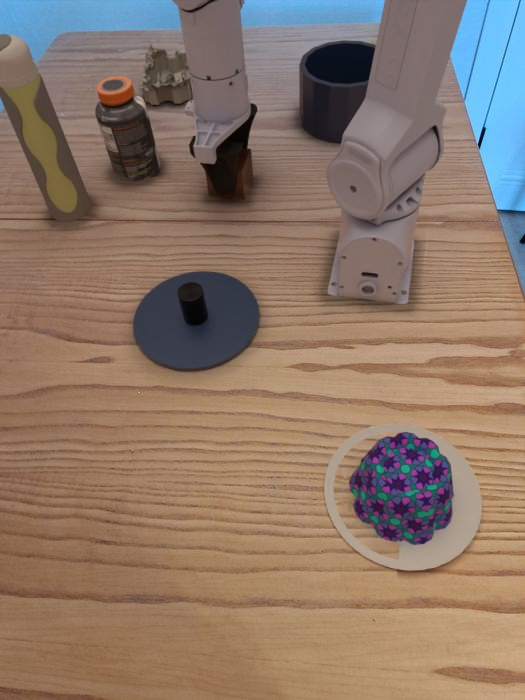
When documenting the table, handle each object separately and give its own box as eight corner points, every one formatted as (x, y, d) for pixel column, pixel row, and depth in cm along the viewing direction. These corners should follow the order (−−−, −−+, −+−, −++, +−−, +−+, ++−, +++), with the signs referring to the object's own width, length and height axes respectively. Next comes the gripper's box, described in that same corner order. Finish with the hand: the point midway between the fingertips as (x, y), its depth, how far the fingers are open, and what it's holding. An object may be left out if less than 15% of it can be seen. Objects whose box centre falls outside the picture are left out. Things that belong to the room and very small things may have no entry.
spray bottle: (95, 219, 68) (29, 45, 52) (54, 229, 67) (-26, 57, 51) (90, 195, 70) (26, 23, 54) (50, 204, 70) (-26, 33, 54)
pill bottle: (165, 156, 74) (145, 69, 65) (155, 184, 71) (133, 97, 62) (120, 156, 75) (95, 70, 66) (109, 184, 71) (80, 98, 62)
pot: (381, 145, 73) (387, 89, 67) (293, 139, 75) (291, 83, 69) (389, 98, 79) (396, 42, 73) (308, 93, 81) (308, 38, 76)
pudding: (355, 594, 41) (361, 573, 37) (304, 449, 48) (303, 417, 44) (509, 546, 42) (532, 520, 38) (437, 412, 49) (449, 377, 45)
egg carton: (154, 69, 88) (148, 42, 85) (202, 68, 88) (198, 41, 84) (138, 106, 82) (131, 78, 79) (190, 106, 81) (185, 77, 78)
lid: (242, 384, 52) (237, 353, 49) (116, 364, 55) (102, 333, 51) (271, 286, 59) (269, 252, 56) (159, 271, 62) (150, 238, 58)
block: (245, 203, 68) (241, 171, 64) (209, 199, 69) (204, 168, 65) (253, 180, 70) (251, 148, 67) (219, 176, 71) (214, 145, 68)
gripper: (199, 30, 62) (215, 141, 73) (155, 102, 54) (180, 215, 65) (262, 33, 61) (269, 146, 72) (227, 107, 53) (240, 222, 64)
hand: (230, 179), depth 68 cm, fingers closed on block, 4 cm apart
